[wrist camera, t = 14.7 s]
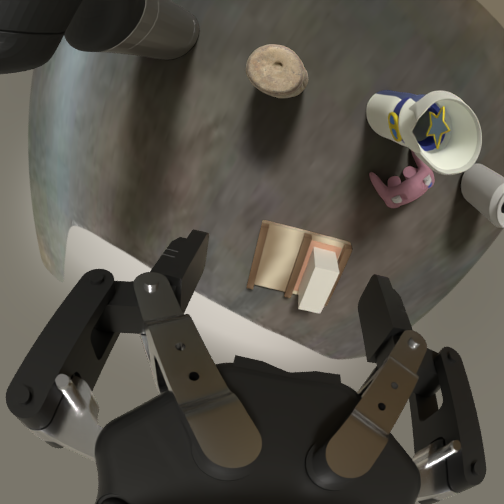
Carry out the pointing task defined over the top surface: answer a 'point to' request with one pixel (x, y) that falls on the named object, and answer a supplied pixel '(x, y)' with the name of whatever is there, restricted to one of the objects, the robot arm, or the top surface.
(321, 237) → the slot rack
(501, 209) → the can
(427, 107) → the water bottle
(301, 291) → the plug block
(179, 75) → the top surface
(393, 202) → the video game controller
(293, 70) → the carving
